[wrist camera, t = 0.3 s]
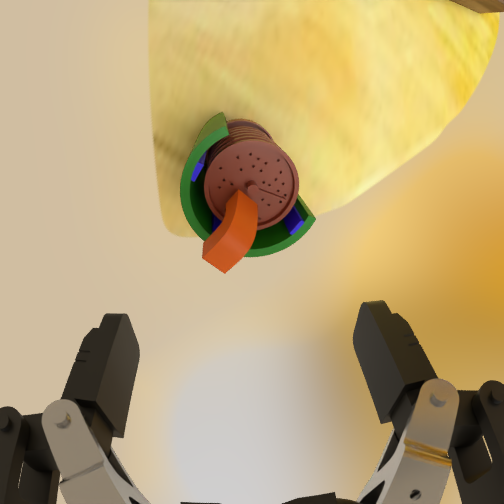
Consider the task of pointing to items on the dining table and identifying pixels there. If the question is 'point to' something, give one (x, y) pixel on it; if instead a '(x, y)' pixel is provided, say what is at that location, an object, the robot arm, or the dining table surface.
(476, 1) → the housing
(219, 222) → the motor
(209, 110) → the dining table surface
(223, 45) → the dining table surface
